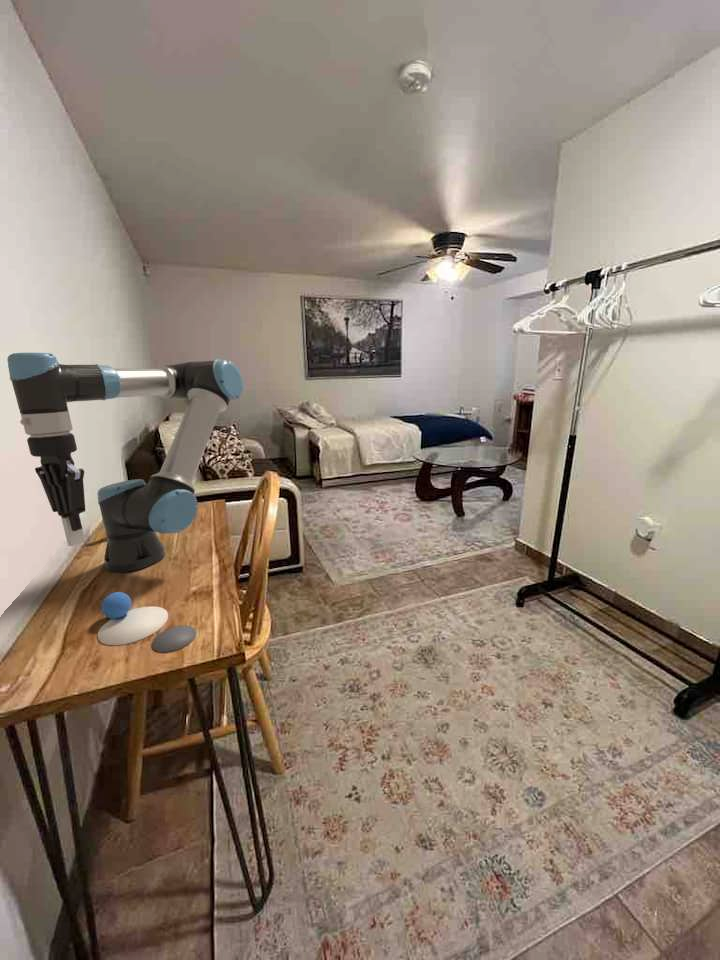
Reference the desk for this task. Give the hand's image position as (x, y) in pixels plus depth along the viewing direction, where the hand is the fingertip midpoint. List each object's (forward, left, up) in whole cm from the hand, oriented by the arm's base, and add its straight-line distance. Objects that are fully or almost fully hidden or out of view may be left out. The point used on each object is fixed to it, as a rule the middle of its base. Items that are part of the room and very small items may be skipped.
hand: (76, 543), depth 84 cm
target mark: (+6, +12, -16) cm, 22 cm away
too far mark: (+12, +23, -16) cm, 31 cm away
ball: (+3, +7, -14) cm, 16 cm away
